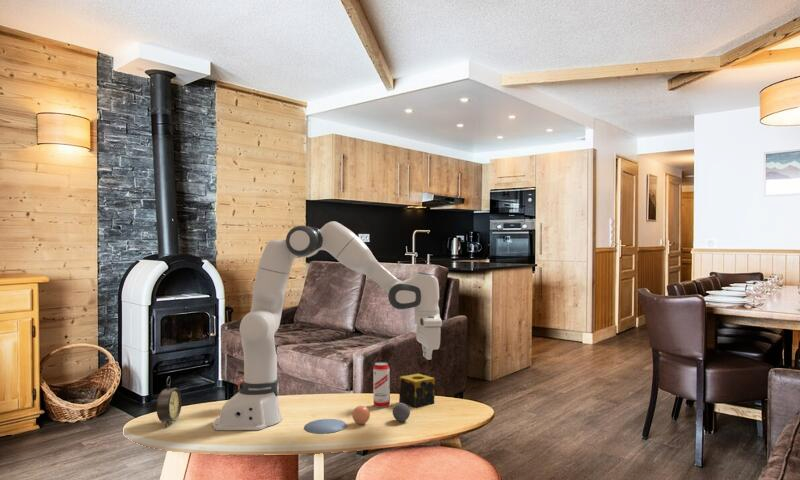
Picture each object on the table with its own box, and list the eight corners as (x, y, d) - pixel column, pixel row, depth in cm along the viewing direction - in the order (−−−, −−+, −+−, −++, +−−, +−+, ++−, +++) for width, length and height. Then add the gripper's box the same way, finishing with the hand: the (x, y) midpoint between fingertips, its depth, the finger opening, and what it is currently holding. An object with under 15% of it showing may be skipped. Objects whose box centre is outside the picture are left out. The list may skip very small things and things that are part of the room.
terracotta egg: (353, 427, 164) (353, 409, 165) (351, 421, 170) (351, 404, 170) (371, 426, 165) (370, 408, 166) (368, 420, 171) (368, 402, 172)
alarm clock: (169, 429, 164) (170, 380, 165) (153, 429, 164) (153, 380, 164) (182, 418, 175) (182, 372, 176) (166, 419, 175) (167, 372, 175)
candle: (398, 402, 193) (398, 376, 193) (418, 398, 199) (418, 373, 199) (414, 408, 185) (414, 381, 185) (435, 403, 191) (434, 377, 191)
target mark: (304, 435, 157) (304, 434, 157) (304, 421, 171) (304, 420, 171) (348, 431, 160) (348, 431, 160) (344, 418, 174) (344, 417, 174)
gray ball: (394, 424, 167) (394, 406, 167) (391, 418, 173) (391, 401, 173) (411, 423, 168) (411, 405, 168) (408, 417, 174) (408, 400, 174)
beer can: (389, 408, 185) (389, 365, 186) (372, 408, 185) (372, 365, 186) (390, 403, 191) (389, 361, 192) (374, 403, 192) (373, 362, 192)
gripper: (412, 315, 183) (412, 353, 183) (425, 322, 163) (425, 364, 163) (428, 315, 184) (428, 352, 184) (443, 321, 164) (443, 363, 164)
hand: (427, 358), depth 173 cm, fingers open, 2 cm apart
